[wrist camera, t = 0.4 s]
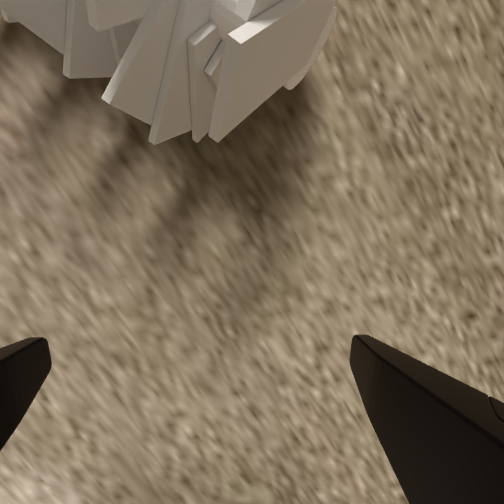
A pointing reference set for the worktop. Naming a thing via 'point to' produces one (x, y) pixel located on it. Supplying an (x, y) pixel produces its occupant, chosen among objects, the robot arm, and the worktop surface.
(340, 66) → the worktop surface
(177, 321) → the worktop surface
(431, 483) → the robot arm
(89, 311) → the worktop surface
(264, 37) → the spiral staircase
